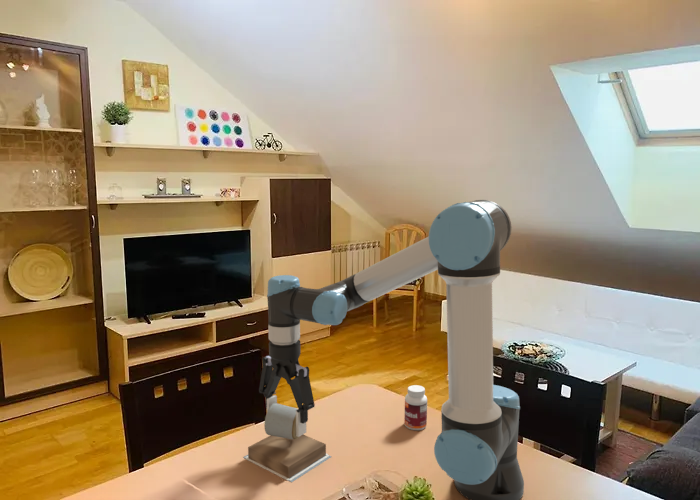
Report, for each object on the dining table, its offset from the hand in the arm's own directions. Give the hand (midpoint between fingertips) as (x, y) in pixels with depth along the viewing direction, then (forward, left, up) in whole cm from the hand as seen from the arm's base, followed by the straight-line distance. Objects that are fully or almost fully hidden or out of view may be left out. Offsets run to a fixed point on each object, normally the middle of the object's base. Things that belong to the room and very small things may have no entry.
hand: (286, 427), depth 131 cm
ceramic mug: (+1, -1, -2) cm, 3 cm away
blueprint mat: (0, 0, -8) cm, 8 cm away
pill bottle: (-16, -34, -8) cm, 38 cm away
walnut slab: (0, 0, -8) cm, 8 cm away
